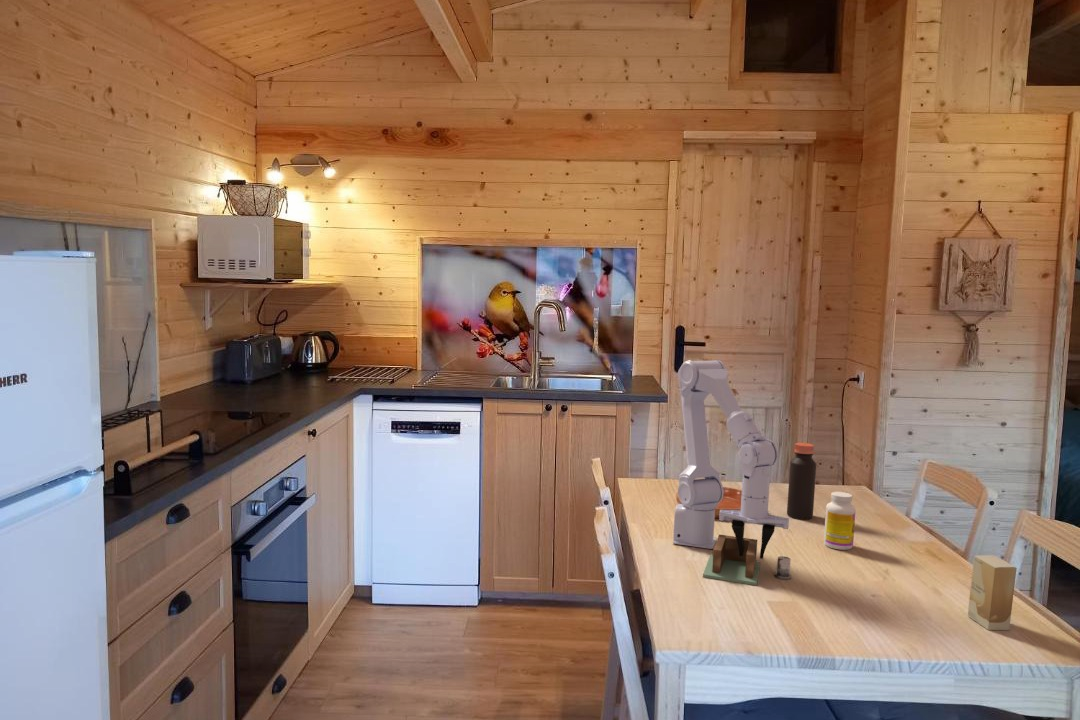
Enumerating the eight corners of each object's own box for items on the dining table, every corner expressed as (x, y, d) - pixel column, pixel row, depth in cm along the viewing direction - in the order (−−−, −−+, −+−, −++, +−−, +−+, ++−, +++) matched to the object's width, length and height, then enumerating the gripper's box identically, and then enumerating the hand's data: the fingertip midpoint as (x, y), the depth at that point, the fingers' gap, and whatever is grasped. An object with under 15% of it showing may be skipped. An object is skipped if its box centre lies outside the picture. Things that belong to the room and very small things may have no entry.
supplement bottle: (855, 552, 177) (859, 499, 176) (826, 549, 179) (829, 496, 178) (849, 542, 184) (853, 491, 183) (821, 540, 185) (824, 489, 184)
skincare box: (966, 616, 143) (971, 554, 142) (987, 615, 144) (993, 554, 142) (989, 631, 137) (995, 566, 136) (1011, 631, 137) (1017, 566, 136)
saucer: (759, 525, 196) (760, 511, 196) (671, 515, 203) (672, 502, 202) (759, 502, 218) (760, 490, 218) (680, 494, 225) (680, 482, 224)
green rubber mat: (702, 577, 159) (702, 574, 159) (710, 557, 171) (710, 554, 171) (756, 585, 155) (756, 582, 155) (760, 564, 167) (760, 561, 167)
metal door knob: (774, 578, 159) (775, 559, 159) (774, 572, 163) (776, 554, 162) (791, 580, 158) (792, 562, 158) (791, 574, 162) (792, 557, 161)
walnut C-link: (712, 572, 160) (713, 549, 160) (717, 555, 170) (719, 534, 170) (752, 578, 157) (754, 555, 157) (756, 561, 167) (757, 539, 167)
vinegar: (815, 515, 206) (820, 444, 204) (809, 521, 200) (814, 448, 198) (790, 511, 210) (794, 440, 208) (783, 516, 204) (788, 444, 202)
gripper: (719, 495, 161) (715, 556, 163) (789, 504, 156) (785, 567, 158) (722, 487, 168) (719, 546, 169) (790, 495, 163) (786, 556, 164)
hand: (751, 555), depth 164 cm, fingers open, 4 cm apart
